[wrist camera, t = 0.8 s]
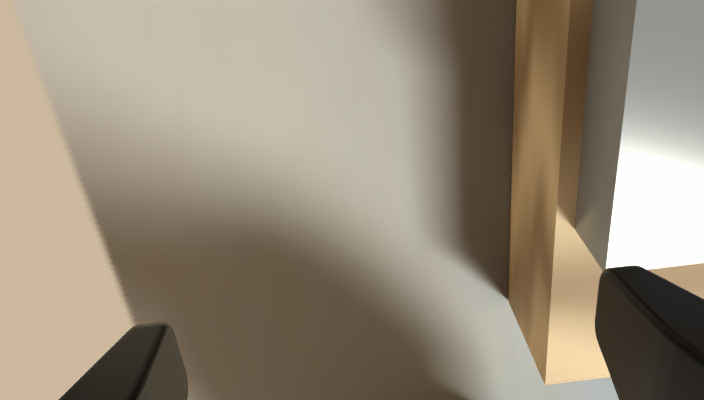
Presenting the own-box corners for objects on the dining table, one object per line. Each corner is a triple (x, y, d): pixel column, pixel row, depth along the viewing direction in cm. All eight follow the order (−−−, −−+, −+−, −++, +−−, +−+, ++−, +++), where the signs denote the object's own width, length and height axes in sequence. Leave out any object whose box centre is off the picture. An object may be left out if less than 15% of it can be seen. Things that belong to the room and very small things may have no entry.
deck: (733, 273, 24) (808, 352, 20) (508, 301, 23) (545, 385, 20) (919, -521, 14) (1132, -636, 10) (528, -479, 13) (608, -581, 10)
